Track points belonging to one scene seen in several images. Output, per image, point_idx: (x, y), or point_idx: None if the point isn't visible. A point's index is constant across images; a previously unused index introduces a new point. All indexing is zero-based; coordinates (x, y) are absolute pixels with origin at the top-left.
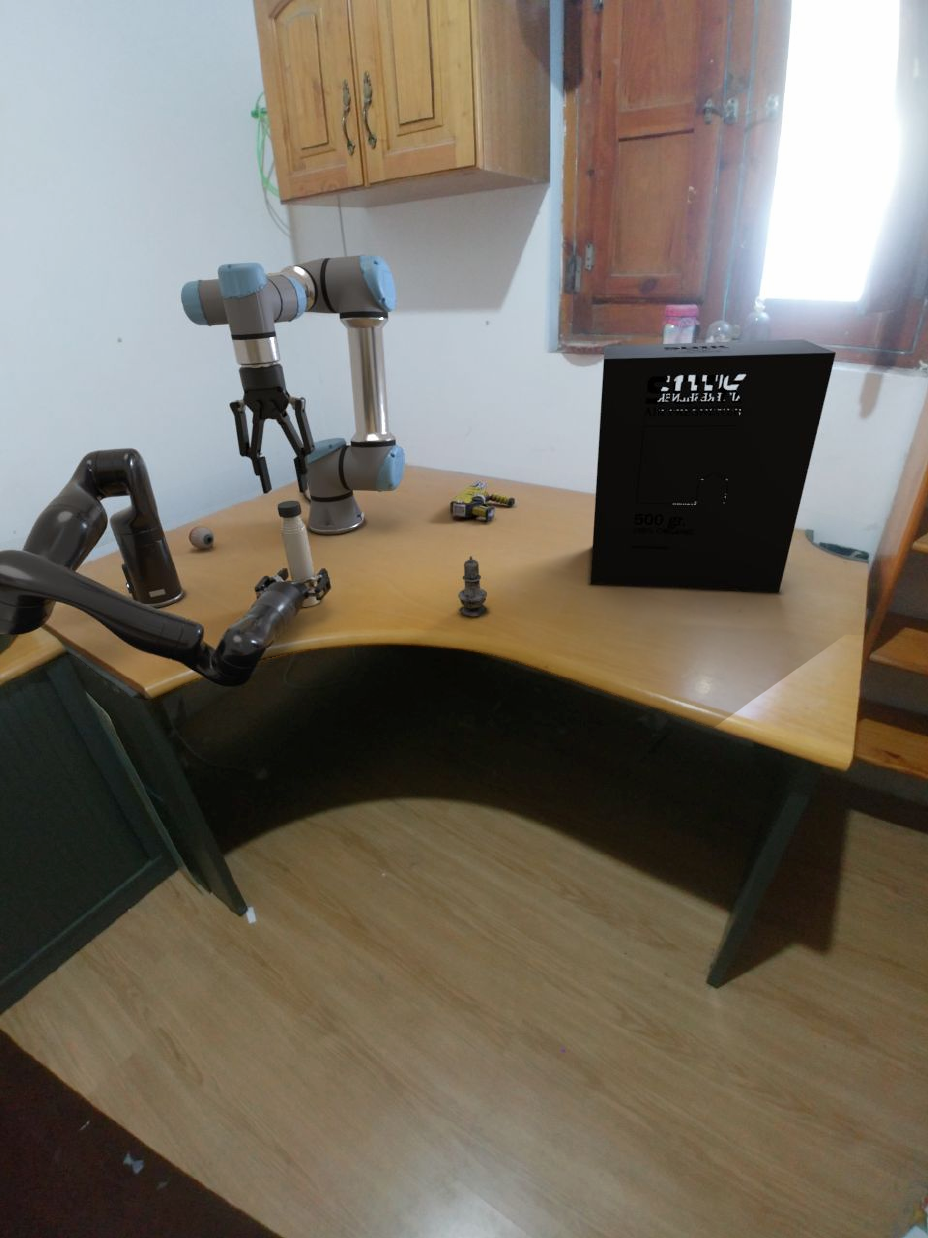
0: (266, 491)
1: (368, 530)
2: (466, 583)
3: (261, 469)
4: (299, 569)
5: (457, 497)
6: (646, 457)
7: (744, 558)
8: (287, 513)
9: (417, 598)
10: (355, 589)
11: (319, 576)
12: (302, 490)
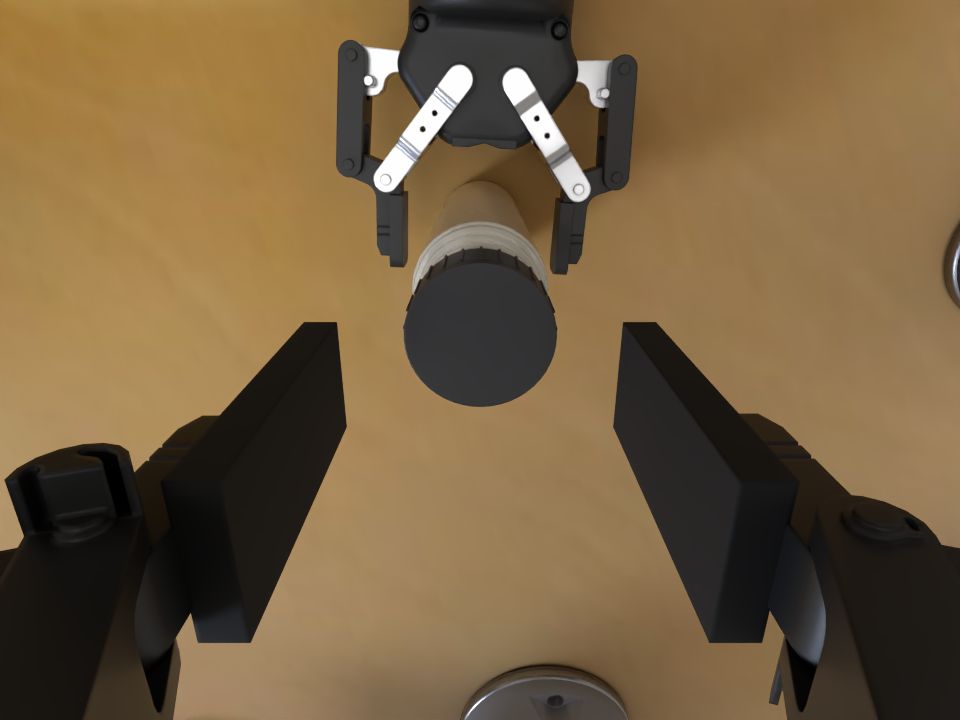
0: (628, 325)
1: (431, 689)
2: None
3: (697, 416)
4: (469, 197)
5: None
6: None
7: None
8: (470, 254)
9: (107, 238)
10: (343, 306)
11: (382, 175)
12: (306, 329)
